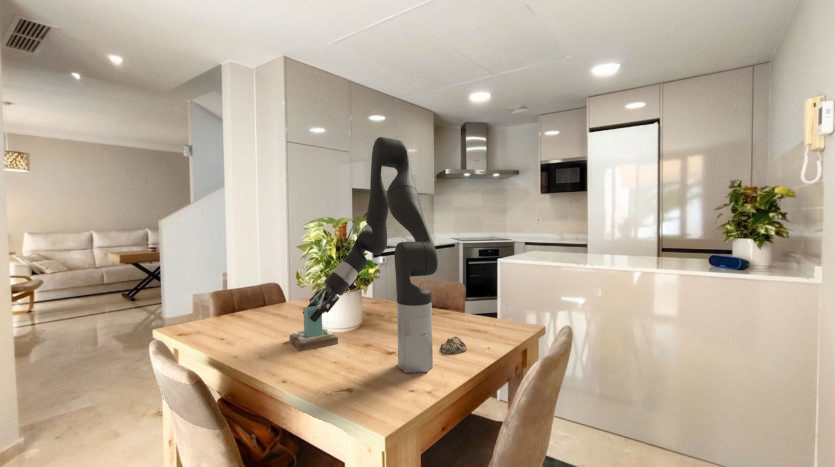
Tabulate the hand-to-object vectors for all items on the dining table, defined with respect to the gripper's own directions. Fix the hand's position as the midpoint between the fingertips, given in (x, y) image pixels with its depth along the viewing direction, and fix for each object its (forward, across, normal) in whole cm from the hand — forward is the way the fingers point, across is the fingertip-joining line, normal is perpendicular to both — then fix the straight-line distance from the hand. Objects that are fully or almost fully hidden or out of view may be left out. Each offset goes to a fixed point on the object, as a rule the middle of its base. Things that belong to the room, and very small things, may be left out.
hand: (308, 317), depth 121 cm
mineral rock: (-18, +31, +31) cm, 47 cm away
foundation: (+5, 0, +7) cm, 8 cm away
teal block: (+3, 0, +5) cm, 6 cm away
